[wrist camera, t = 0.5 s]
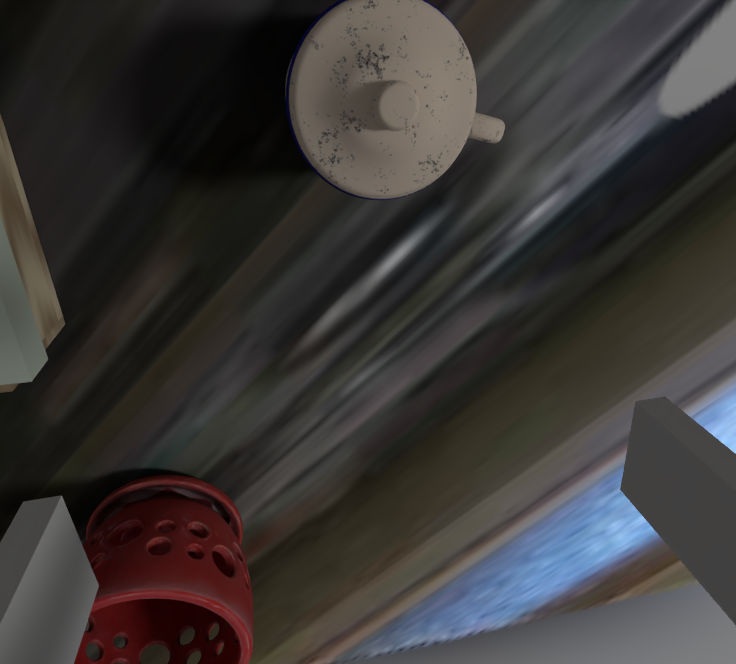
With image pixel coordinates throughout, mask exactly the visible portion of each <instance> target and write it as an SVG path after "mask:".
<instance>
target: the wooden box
mask: <svg viewBox="0 0 736 664" xmlns="http://www.w3.org/2000/svg"><path fill="white" fill-rule="evenodd" d="M0 217H1V220H2V223H3V226H4V228H5V231H6V234H7V237H8V240H9V243H10V246H11V249H12V252H13V255H14V258H15V261H16V264H17V267H18V270H19V273H20V276H21V279H22V282H23V285H24V288H25V291H26V294H27V297H28V300H29V303H30V306H31V309H32V312H33V315H34V318H35V321H36V324H37V327H38V330H39V333H40V336H41V339H42V342H43V345H44V348H45V349H46V348H47V347H48V346H49V344H50V343H51V342H52V340H53V339H54V338H55V337H56V335H57V334H58V333H59V332H60V330H61V329H62V328H63V327H64V325H65V321H64V318H63V315H62V312H61V309H60V305H59V302H58V299H57V296H56V292H55V289H54V286H53V283H52V279H51V276H50V273H49V270H48V266H47V263H46V260H45V257H44V253H43V250H42V247H41V244H40V241H39V237H38V234H37V231H36V228H35V224H34V221H33V218H32V215H31V211H30V208H29V205H28V202H27V198H26V195H25V192H24V189H23V185H22V182H21V179H20V176H19V172H18V169H17V166H16V163H15V160H14V156H13V153H12V150H11V147H10V143H9V140H8V137H7V134H6V130H5V127H4V124H3V121H2V117H1V114H0ZM18 384H19V383H15V384H6V385H0V393H1V392H10V391H13V390H14V389H15V387H16V386H17V385H18Z"/></svg>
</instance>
